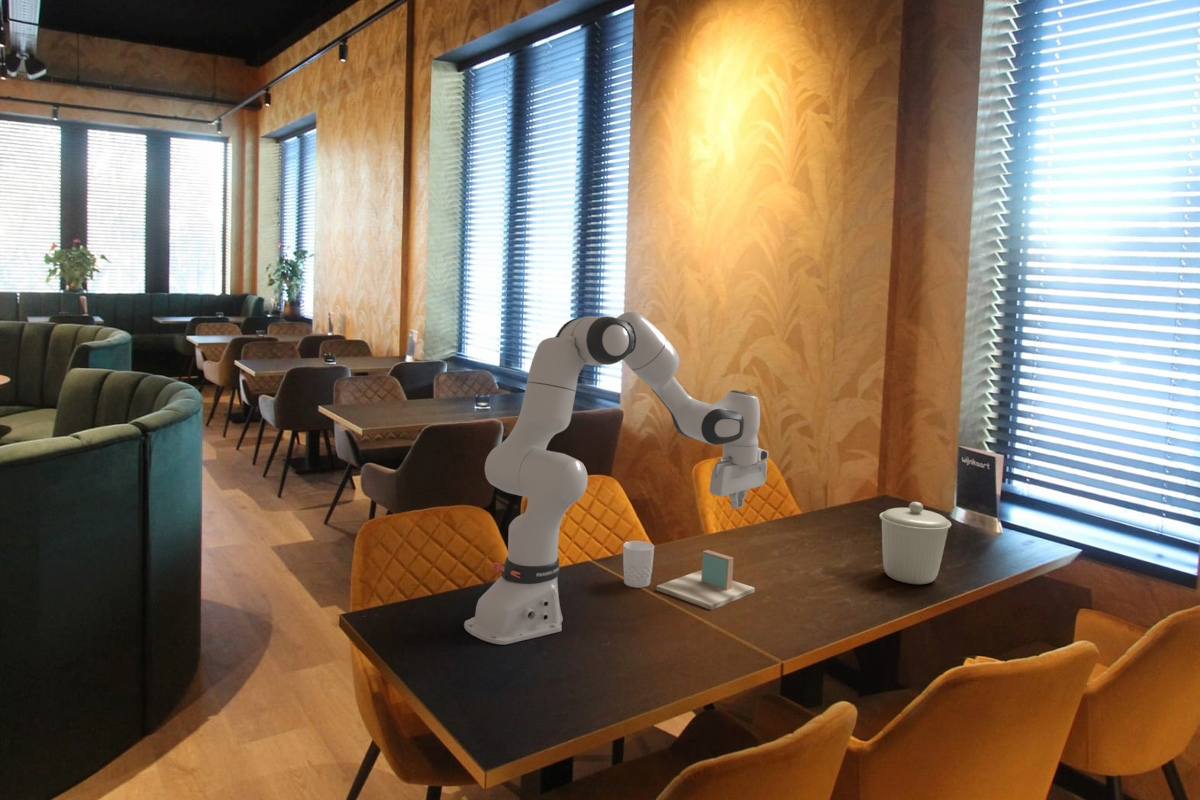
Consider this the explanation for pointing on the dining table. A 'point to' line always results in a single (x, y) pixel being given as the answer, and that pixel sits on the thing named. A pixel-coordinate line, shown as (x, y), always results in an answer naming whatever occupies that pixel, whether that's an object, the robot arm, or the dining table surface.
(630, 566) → the white cup
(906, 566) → the canister
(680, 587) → the board
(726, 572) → the block
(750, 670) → the dining table surface
